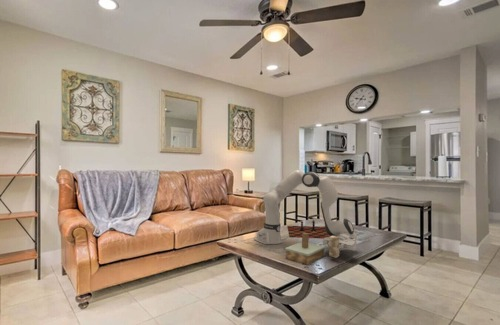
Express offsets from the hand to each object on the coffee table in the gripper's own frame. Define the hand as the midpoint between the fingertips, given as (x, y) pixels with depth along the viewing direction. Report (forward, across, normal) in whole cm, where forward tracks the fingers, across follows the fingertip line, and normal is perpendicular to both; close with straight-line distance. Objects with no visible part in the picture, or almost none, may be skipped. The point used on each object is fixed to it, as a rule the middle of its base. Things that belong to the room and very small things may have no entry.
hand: (333, 245), depth 169 cm
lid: (+7, -16, +4) cm, 18 cm away
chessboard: (-53, -46, +10) cm, 71 cm away
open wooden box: (+7, -16, +9) cm, 20 cm away
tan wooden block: (-1, 0, +6) cm, 7 cm away
